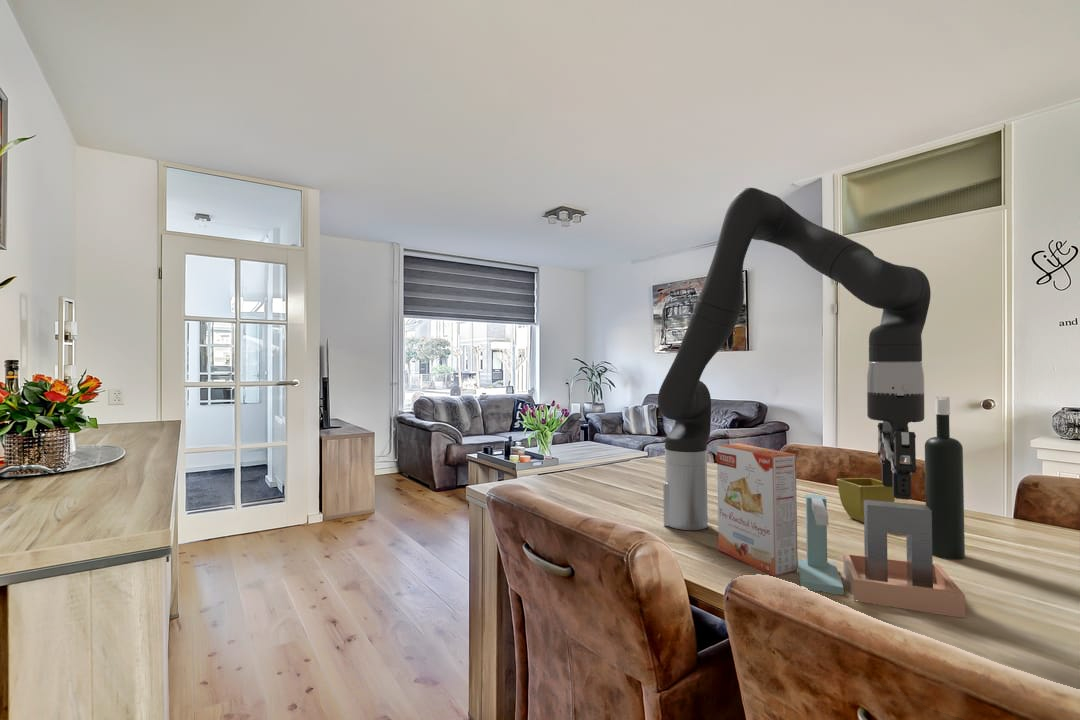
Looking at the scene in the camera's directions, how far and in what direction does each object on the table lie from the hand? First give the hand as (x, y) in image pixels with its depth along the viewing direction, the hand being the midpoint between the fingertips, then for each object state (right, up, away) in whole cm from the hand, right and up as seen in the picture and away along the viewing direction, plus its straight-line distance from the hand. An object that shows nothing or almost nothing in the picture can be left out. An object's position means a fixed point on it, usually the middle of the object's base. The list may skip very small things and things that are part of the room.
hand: (895, 492), depth 83 cm
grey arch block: (0, -15, 0) cm, 15 cm away
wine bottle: (+21, -16, +16) cm, 31 cm away
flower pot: (+20, -17, +39) cm, 46 cm away
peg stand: (-10, -16, +4) cm, 19 cm away
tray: (0, -16, 0) cm, 16 cm away
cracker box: (-17, -16, +13) cm, 27 cm away
